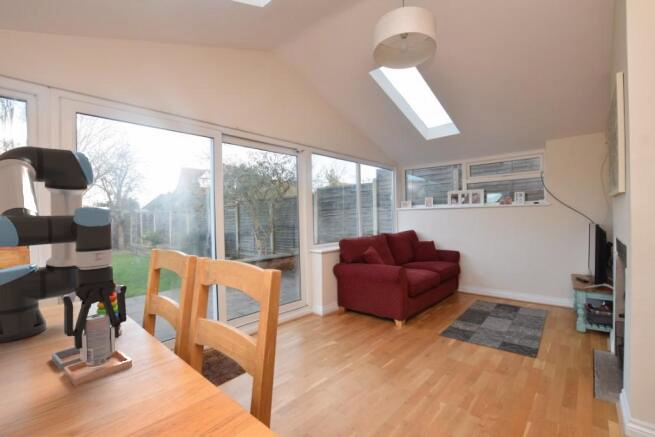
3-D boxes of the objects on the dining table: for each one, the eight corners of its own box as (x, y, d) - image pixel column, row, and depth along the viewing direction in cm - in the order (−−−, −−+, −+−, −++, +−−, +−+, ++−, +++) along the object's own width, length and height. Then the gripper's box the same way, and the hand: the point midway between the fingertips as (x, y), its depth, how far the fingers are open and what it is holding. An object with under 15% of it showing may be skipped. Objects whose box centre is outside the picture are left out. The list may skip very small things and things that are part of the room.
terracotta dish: (63, 374, 77) (63, 367, 77) (118, 355, 86) (118, 349, 86) (74, 387, 71) (74, 380, 71) (132, 366, 80) (131, 359, 80)
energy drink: (107, 355, 82) (106, 311, 82) (113, 361, 79) (112, 315, 78) (82, 363, 78) (81, 317, 78) (88, 369, 75) (86, 321, 74)
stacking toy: (106, 342, 95) (104, 283, 95) (86, 340, 97) (84, 283, 97) (127, 332, 103) (126, 278, 103) (108, 331, 105) (106, 277, 104)
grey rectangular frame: (51, 359, 85) (51, 353, 85) (103, 344, 94) (102, 338, 94) (60, 370, 78) (60, 363, 78) (114, 353, 88) (114, 346, 88)
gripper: (50, 274, 68) (54, 375, 69) (139, 262, 83) (142, 346, 83) (43, 271, 73) (47, 365, 73) (129, 260, 87) (132, 339, 88)
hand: (98, 355), depth 78 cm, fingers closed on energy drink, 5 cm apart
